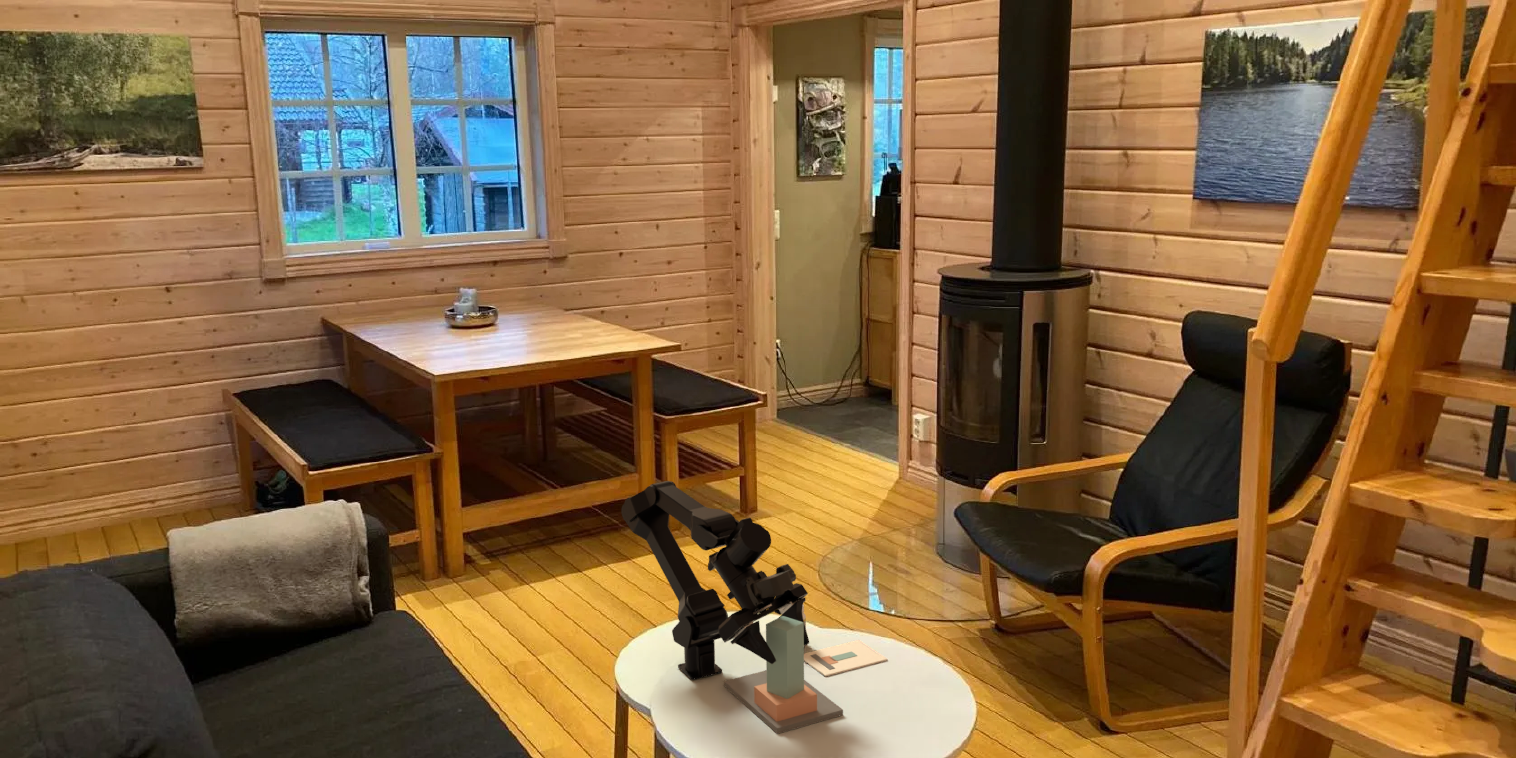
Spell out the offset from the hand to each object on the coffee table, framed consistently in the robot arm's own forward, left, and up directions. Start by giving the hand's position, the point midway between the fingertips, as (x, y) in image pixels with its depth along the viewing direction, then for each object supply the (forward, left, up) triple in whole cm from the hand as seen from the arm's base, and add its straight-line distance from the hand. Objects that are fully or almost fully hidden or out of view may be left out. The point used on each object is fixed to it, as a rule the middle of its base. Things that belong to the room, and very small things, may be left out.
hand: (791, 653), depth 197 cm
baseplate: (-5, +1, -11) cm, 13 cm away
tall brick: (-1, -1, -7) cm, 7 cm away
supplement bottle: (-24, +14, -11) cm, 30 cm away
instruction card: (-14, +19, -11) cm, 27 cm away
